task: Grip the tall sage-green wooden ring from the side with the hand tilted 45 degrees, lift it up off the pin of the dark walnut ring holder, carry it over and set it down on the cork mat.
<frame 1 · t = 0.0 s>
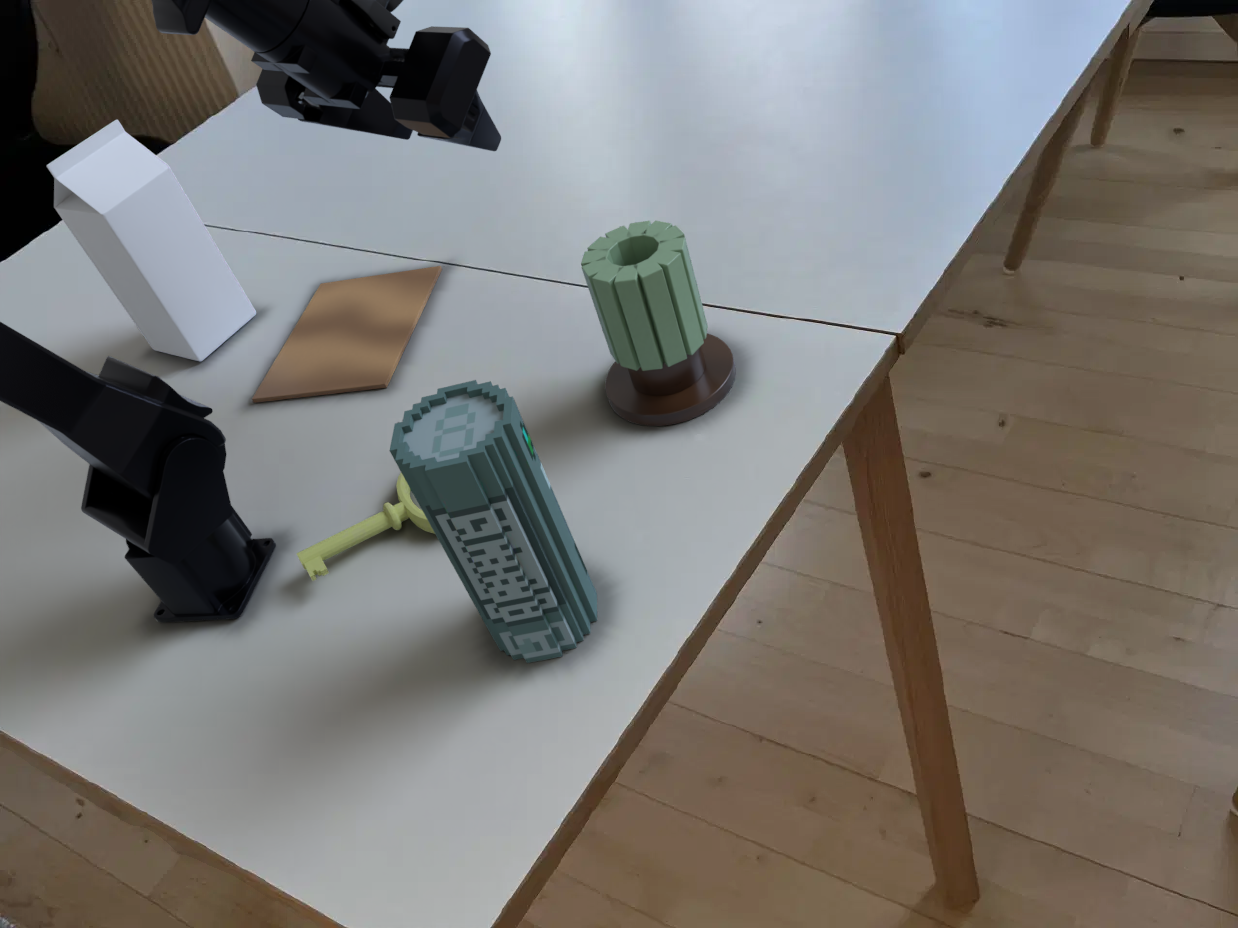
hand: (452, 138, 76), 15 cm above the table, tool tilted 35°, fingers open, 9 cm apart
ring holder: (671, 382, 74), on the table
can: (546, 618, 61), on the table
ring: (658, 338, 71), point 4 cm above the table, touching ring holder
key: (400, 528, 70), on the table
milk carton: (207, 335, 96), on the table
cork mat: (352, 333, 90), on the table
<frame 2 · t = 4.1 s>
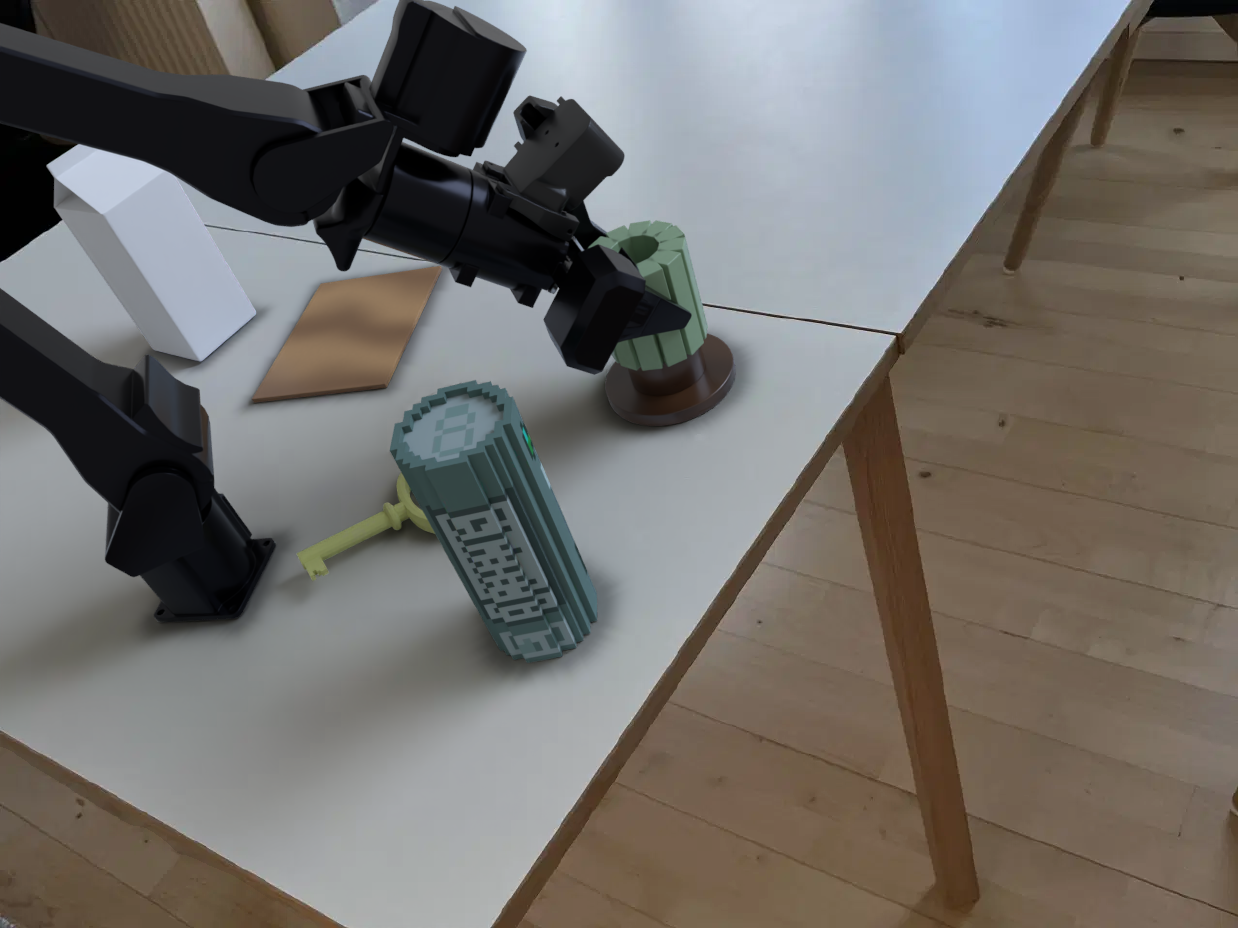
hand: (668, 296, 69), 7 cm above the table, tool tilted 45°, fingers closed on ring, 6 cm apart
ring: (658, 338, 71), point 4 cm above the table, touching gripper, ring holder
everything else where it was.
when the fingers open (3 cm above the table, at t = 14.2 s): ring stays where it is, resting on cork mat.
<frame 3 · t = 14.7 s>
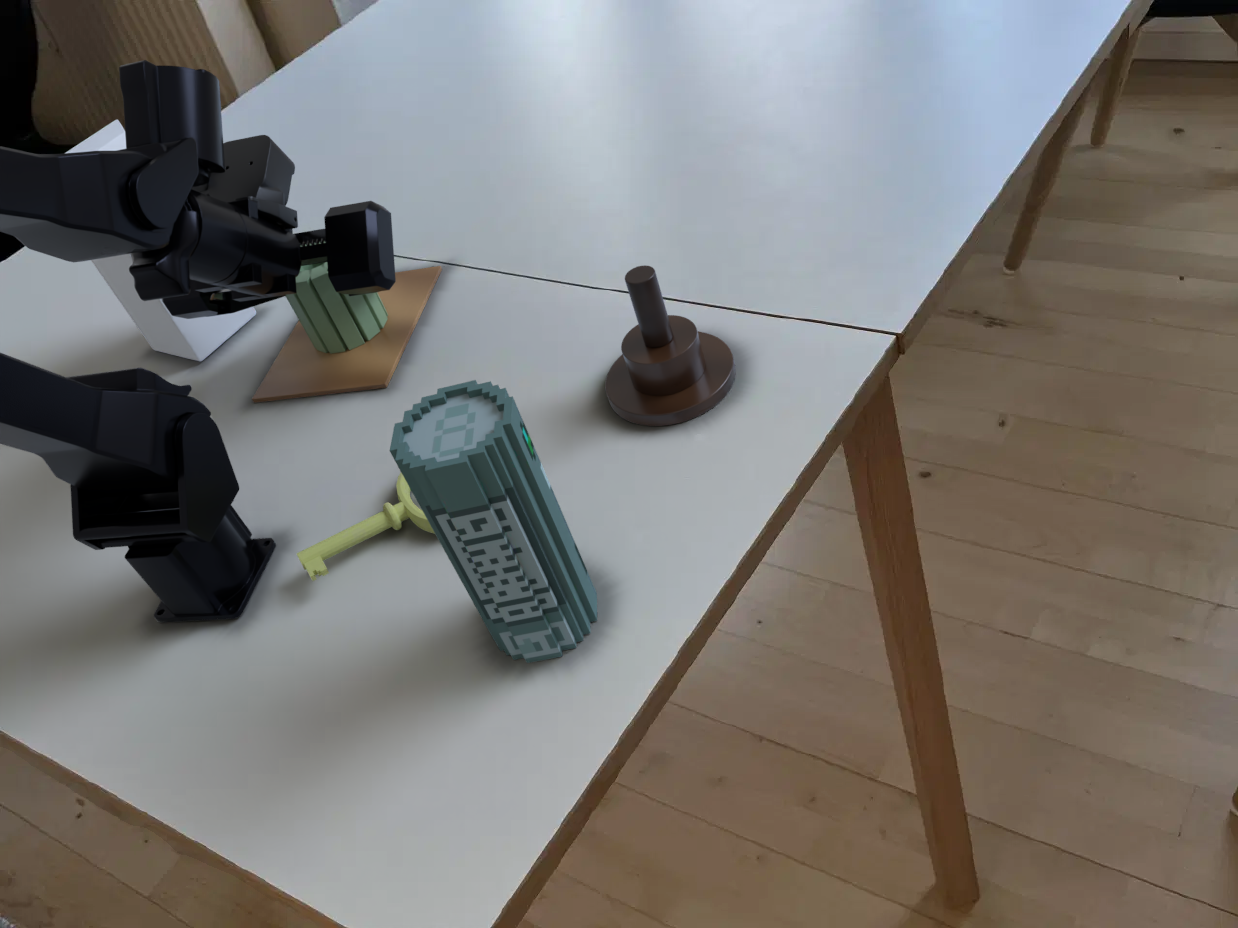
hand: (335, 281, 88), 4 cm above the table, tool tilted 45°, fingers open, 9 cm apart
ring: (350, 328, 89), resting on cork mat
everything else where it was.
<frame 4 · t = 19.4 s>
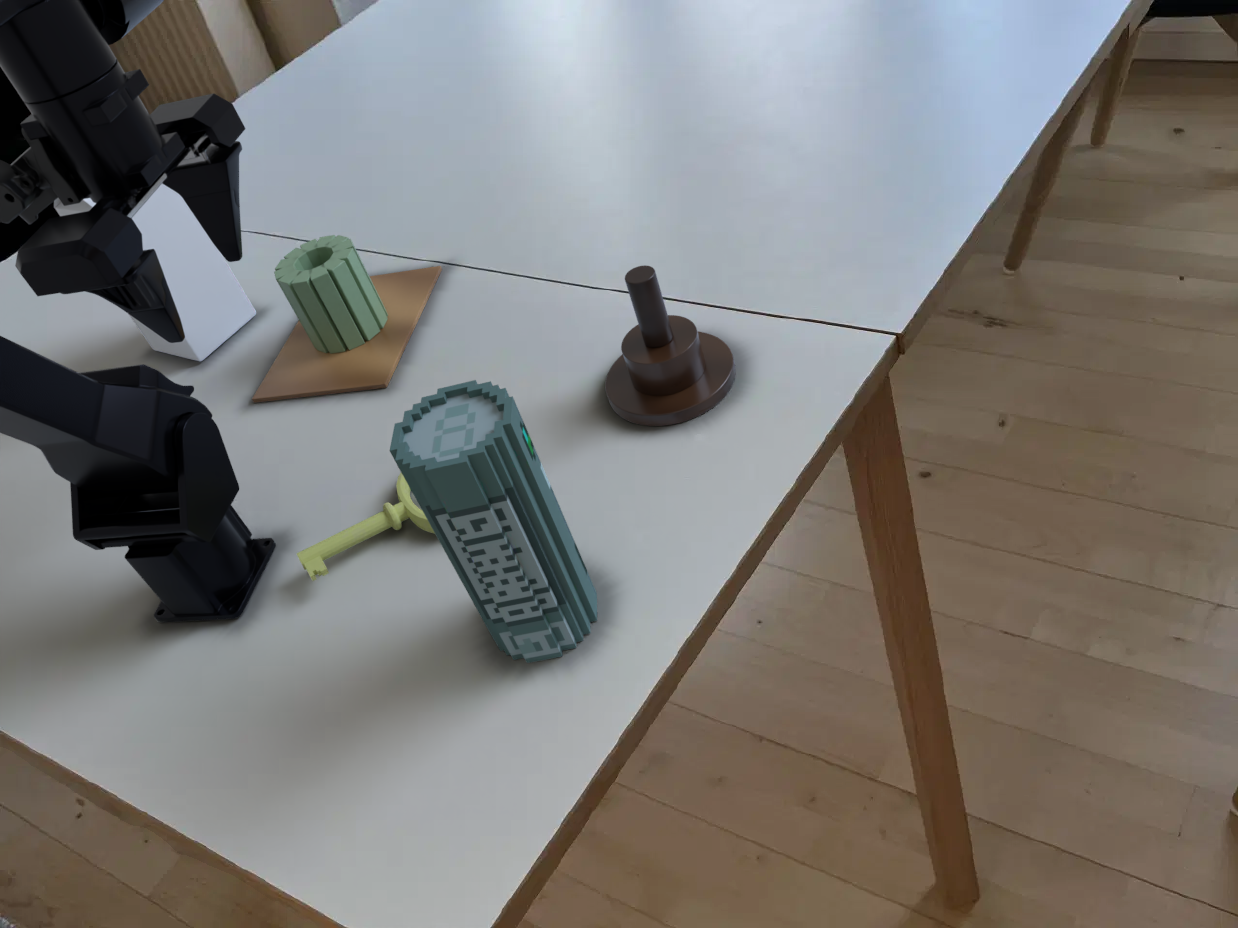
hand: (208, 298, 72), 13 cm above the table, tool pointing down, fingers open, 9 cm apart
nothing on the table moved.
at the end: ring inside the target area on the cork mat (0.2 cm from its centre), point 0.4 cm above the cork mat's base; the gripper is holding nothing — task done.
